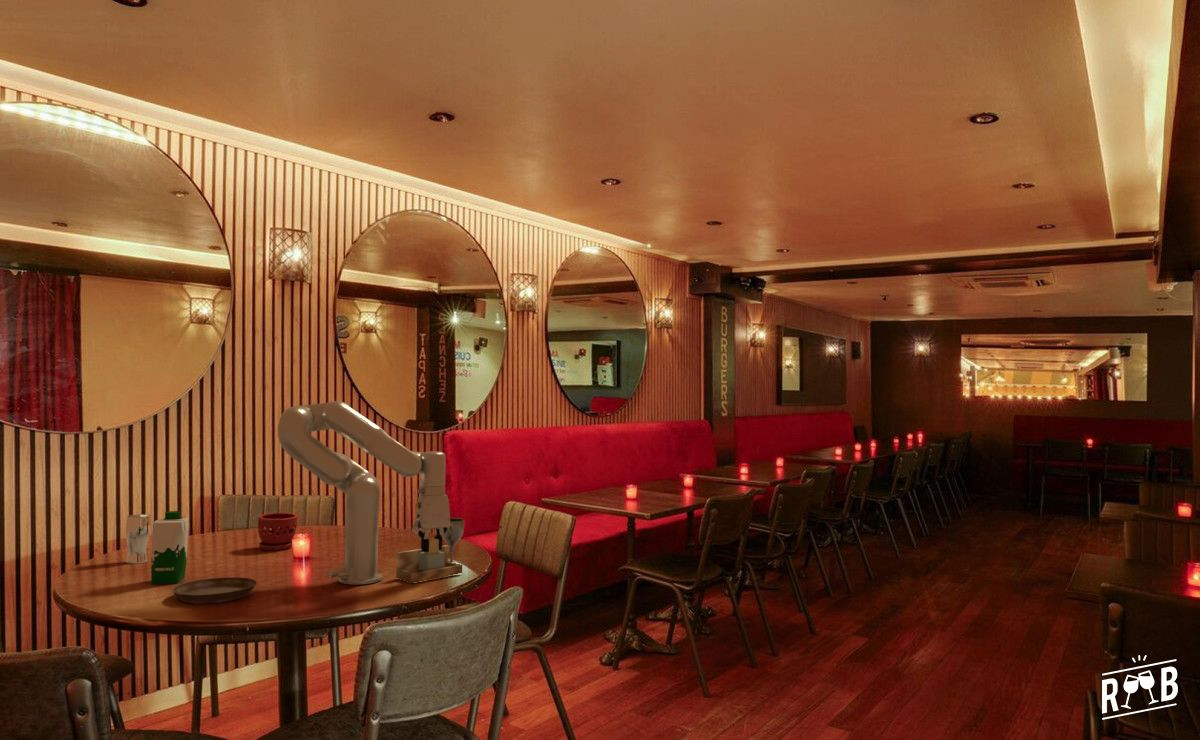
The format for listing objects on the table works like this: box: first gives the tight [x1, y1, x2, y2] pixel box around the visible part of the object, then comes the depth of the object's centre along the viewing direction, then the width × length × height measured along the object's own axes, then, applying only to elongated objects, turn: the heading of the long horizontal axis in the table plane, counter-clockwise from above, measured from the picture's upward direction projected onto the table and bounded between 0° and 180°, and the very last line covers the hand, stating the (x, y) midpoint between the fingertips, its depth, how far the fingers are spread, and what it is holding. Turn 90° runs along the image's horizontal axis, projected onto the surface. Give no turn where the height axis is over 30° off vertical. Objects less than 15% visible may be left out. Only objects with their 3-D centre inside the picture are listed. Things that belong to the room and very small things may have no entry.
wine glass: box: [442, 517, 465, 562], centre depth 250 cm, size 8×8×15 cm
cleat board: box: [395, 544, 463, 584], centre depth 233 cm, size 18×9×8 cm, turn 136°
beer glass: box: [125, 513, 152, 565], centre depth 246 cm, size 7×7×15 cm
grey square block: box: [419, 538, 444, 571], centre depth 233 cm, size 6×5×9 cm
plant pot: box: [257, 512, 298, 551], centre depth 272 cm, size 13×13×12 cm
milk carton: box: [150, 510, 189, 585], centre depth 221 cm, size 9×9×20 cm
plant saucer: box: [171, 576, 258, 605], centre depth 206 cm, size 21×21×3 cm
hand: (431, 549), depth 233 cm, fingers closed on grey square block, 4 cm apart
